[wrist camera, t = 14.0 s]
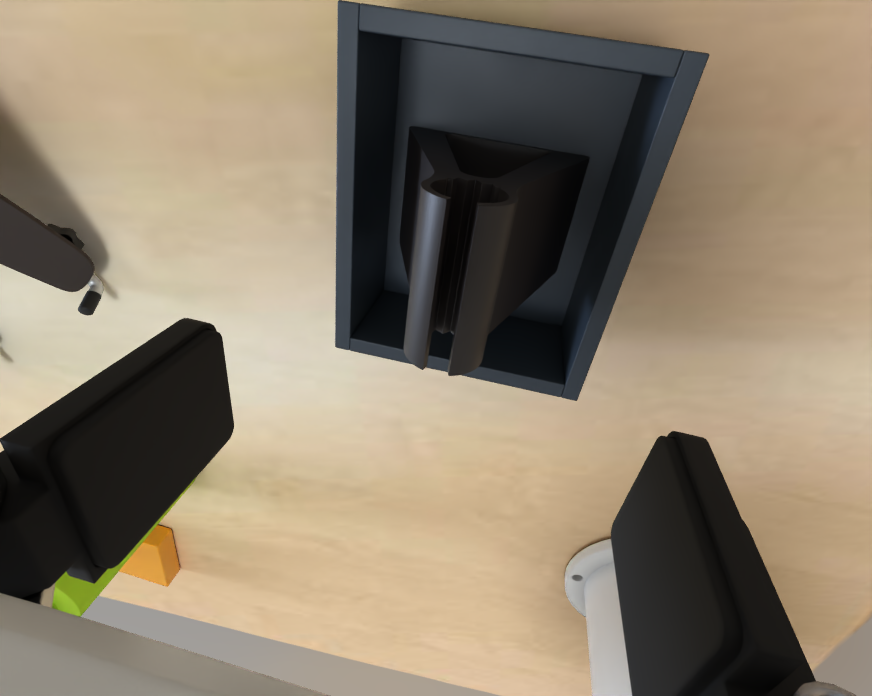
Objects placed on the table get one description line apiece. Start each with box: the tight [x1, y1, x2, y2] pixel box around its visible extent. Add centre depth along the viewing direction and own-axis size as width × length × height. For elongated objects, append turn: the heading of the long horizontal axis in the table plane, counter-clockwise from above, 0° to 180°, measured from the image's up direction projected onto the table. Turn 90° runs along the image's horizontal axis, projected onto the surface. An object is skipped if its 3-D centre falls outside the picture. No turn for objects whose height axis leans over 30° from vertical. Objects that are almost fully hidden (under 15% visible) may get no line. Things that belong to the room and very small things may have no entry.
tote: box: [335, 0, 709, 401], centre depth 22 cm, size 13×15×7 cm
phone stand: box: [399, 126, 590, 376], centre depth 19 cm, size 9×6×12 cm, turn 82°
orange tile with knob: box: [119, 525, 180, 587], centre depth 50 cm, size 8×8×4 cm
